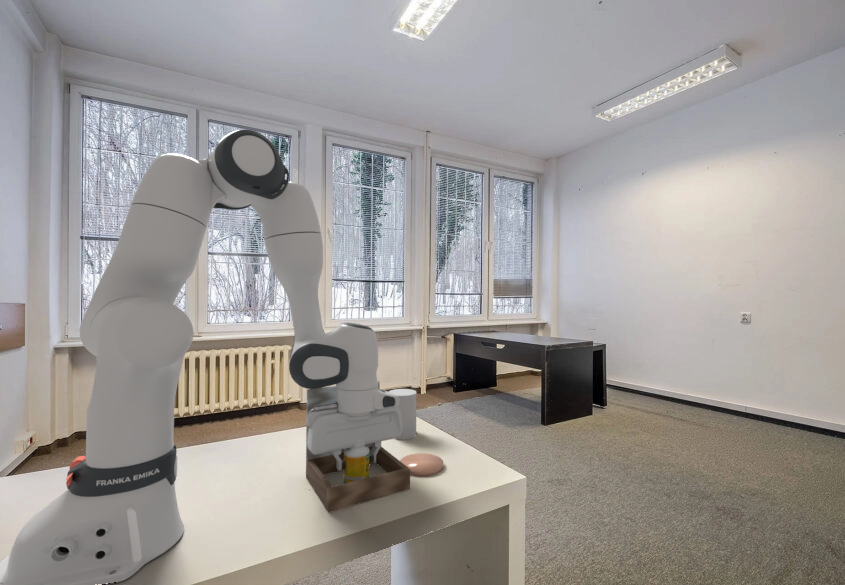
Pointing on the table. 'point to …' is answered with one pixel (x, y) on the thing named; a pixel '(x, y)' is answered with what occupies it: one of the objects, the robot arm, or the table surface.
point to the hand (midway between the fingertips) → (356, 465)
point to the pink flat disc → (423, 464)
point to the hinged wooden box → (327, 464)
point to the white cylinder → (407, 411)
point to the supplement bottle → (356, 462)
